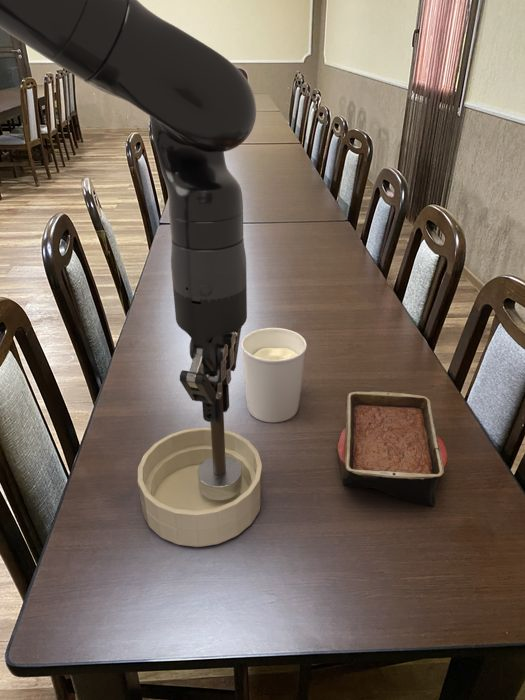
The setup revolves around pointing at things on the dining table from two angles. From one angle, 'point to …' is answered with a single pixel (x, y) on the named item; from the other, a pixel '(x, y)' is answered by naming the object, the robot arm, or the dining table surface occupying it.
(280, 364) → the white cup
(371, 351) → the dining table surface
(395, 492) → the baking dish
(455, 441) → the dining table surface
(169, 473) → the bowl
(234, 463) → the rod with silver disc
